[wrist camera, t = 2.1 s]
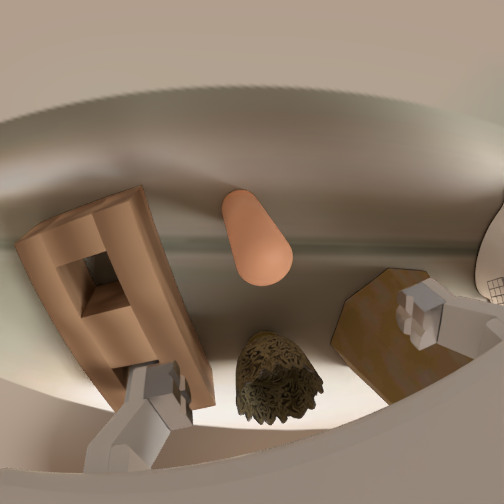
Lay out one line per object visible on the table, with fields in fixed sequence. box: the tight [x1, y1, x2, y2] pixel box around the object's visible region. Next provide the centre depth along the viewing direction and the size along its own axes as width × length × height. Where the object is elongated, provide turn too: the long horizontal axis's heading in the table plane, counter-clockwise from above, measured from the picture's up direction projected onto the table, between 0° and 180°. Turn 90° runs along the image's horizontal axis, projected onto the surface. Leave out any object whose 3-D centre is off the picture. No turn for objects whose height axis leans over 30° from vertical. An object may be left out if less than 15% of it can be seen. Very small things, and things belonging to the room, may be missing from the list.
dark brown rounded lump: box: [236, 331, 324, 425], centre depth 28 cm, size 8×7×8 cm
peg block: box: [14, 185, 216, 413], centre depth 25 cm, size 10×20×5 cm, turn 12°
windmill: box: [331, 268, 504, 405], centre depth 20 cm, size 21×14×30 cm, turn 13°
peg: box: [222, 190, 293, 286], centre depth 21 cm, size 3×3×10 cm
